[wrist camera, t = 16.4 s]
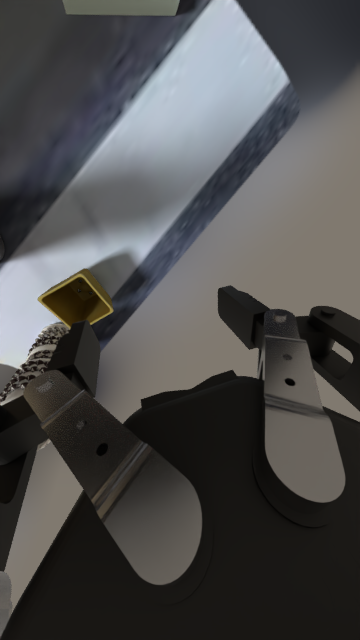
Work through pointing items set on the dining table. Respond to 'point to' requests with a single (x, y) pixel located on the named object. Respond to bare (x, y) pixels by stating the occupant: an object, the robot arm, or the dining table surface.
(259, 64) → the dining table surface
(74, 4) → the sage plinth
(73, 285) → the flower pot
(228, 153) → the dining table surface
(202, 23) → the dining table surface
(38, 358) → the decorative candle
